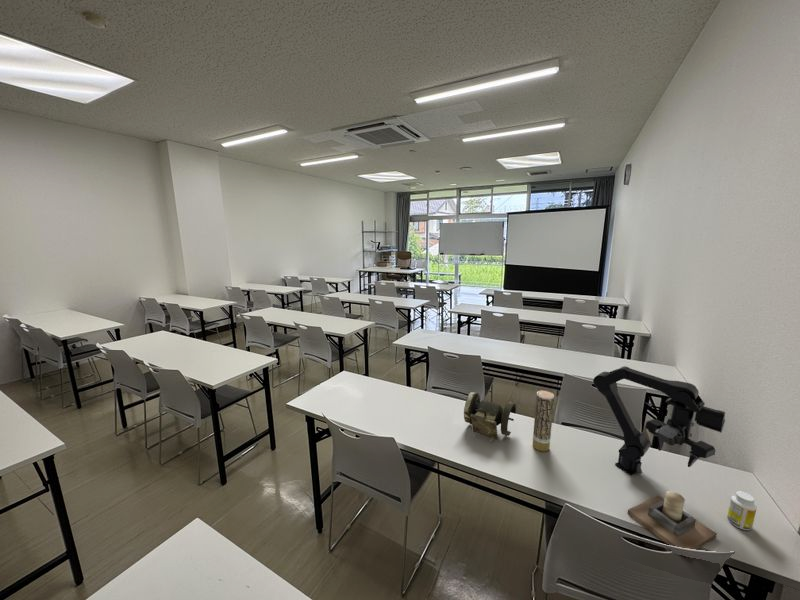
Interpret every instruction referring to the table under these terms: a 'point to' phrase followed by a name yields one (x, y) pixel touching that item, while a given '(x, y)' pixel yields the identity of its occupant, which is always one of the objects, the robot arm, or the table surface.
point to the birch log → (543, 420)
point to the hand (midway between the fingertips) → (674, 458)
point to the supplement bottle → (742, 510)
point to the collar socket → (671, 525)
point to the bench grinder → (487, 416)
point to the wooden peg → (673, 506)
